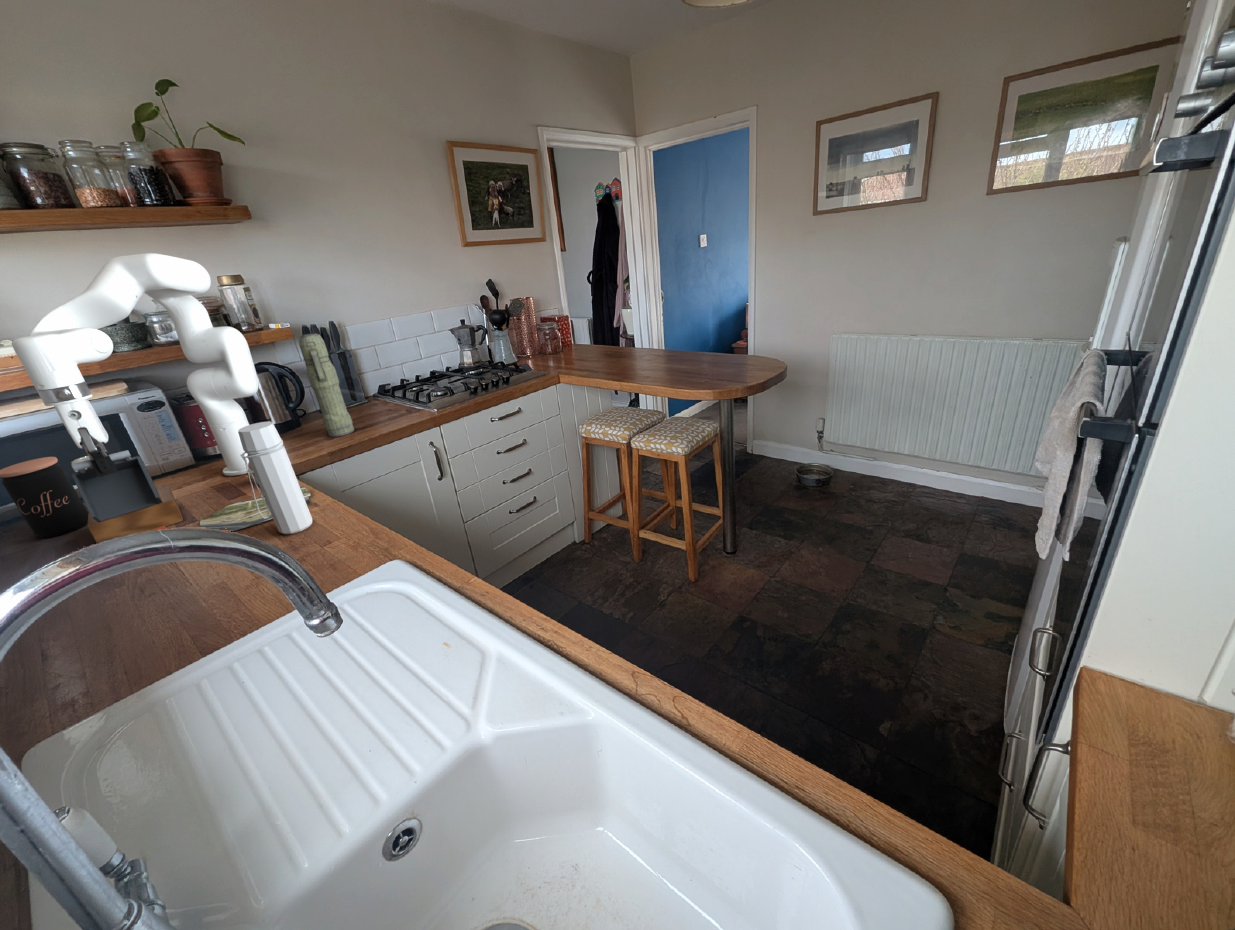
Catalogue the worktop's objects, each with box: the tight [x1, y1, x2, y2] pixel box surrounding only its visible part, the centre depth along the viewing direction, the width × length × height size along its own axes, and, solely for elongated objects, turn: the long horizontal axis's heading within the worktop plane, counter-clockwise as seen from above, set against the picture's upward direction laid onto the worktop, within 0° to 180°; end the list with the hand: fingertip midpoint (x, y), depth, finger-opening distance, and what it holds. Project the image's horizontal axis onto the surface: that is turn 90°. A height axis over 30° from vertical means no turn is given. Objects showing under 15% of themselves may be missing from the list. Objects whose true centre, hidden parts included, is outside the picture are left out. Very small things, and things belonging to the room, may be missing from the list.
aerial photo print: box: [198, 485, 312, 532], centre depth 131 cm, size 25×19×2 cm
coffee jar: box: [0, 456, 89, 539], centre depth 132 cm, size 11×11×18 cm
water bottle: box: [238, 421, 313, 535], centre depth 116 cm, size 9×8×25 cm
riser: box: [86, 485, 184, 543], centre depth 131 cm, size 16×14×6 cm
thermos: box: [298, 332, 355, 438], centre depth 182 cm, size 9×12×35 cm
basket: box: [70, 449, 163, 522], centre depth 121 cm, size 12×12×11 cm
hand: (108, 472), depth 118 cm, fingers closed on basket
